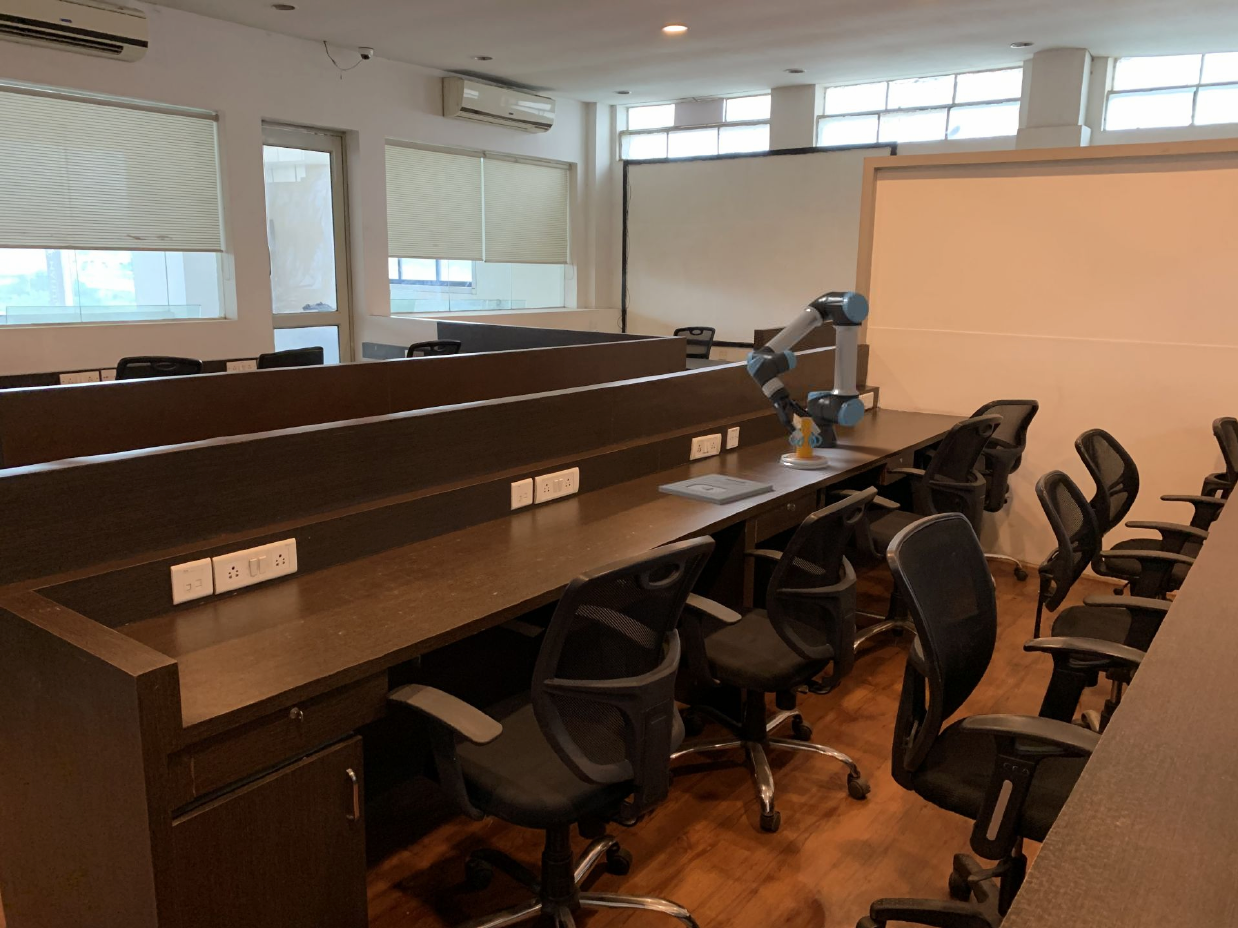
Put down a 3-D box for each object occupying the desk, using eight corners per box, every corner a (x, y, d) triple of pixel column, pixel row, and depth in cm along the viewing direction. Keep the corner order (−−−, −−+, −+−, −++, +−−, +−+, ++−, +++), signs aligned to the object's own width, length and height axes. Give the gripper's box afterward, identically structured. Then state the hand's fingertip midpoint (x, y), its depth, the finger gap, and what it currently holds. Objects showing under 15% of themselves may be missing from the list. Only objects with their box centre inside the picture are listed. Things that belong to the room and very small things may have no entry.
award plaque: (772, 491, 310) (772, 484, 310) (718, 506, 288) (719, 499, 288) (713, 479, 326) (713, 473, 326) (658, 492, 305) (658, 486, 304)
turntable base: (819, 460, 362) (819, 456, 361) (834, 470, 344) (834, 466, 344) (774, 460, 360) (774, 457, 359) (787, 470, 342) (787, 466, 342)
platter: (818, 457, 361) (819, 452, 360) (833, 465, 344) (833, 461, 344) (776, 457, 359) (776, 452, 359) (788, 465, 342) (788, 461, 342)
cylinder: (819, 454, 356) (821, 416, 353) (822, 460, 346) (824, 420, 343) (786, 453, 357) (789, 415, 354) (789, 458, 347) (791, 419, 344)
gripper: (785, 395, 366) (818, 437, 360) (753, 401, 347) (786, 445, 341) (798, 383, 362) (831, 425, 356) (766, 388, 343) (800, 433, 337)
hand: (809, 435), depth 348 cm, fingers open, 13 cm apart
